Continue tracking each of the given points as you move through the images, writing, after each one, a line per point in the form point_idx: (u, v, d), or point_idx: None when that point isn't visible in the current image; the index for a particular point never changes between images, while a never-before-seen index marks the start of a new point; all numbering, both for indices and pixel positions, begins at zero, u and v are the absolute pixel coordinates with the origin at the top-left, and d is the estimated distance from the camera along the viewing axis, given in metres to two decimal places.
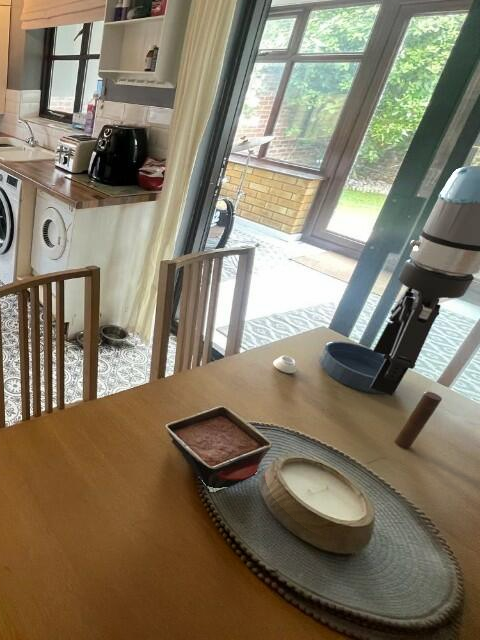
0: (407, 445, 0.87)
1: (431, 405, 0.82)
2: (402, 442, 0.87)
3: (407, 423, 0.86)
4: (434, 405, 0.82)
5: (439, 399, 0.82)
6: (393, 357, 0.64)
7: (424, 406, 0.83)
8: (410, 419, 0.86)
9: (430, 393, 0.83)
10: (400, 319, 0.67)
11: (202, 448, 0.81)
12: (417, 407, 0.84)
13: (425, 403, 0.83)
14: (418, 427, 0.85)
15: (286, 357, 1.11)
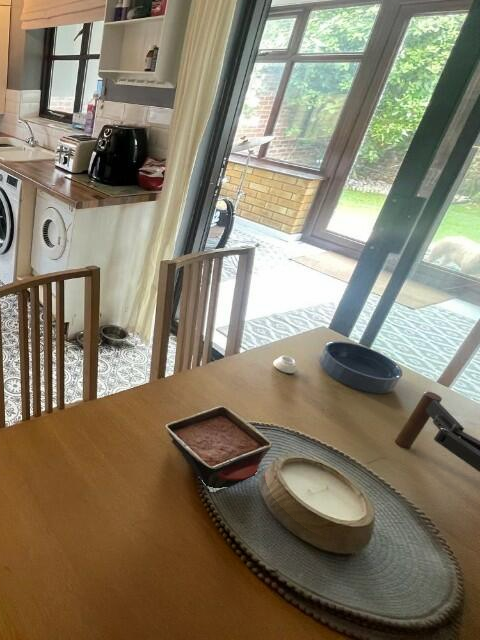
0: (407, 445, 0.87)
1: None
2: (402, 442, 0.87)
3: (407, 423, 0.86)
4: None
5: (439, 399, 0.82)
6: None
7: (424, 406, 0.83)
8: (410, 419, 0.86)
9: (430, 393, 0.83)
10: None
11: (202, 448, 0.81)
12: (417, 407, 0.84)
13: (425, 403, 0.83)
14: (418, 427, 0.85)
15: (286, 357, 1.11)
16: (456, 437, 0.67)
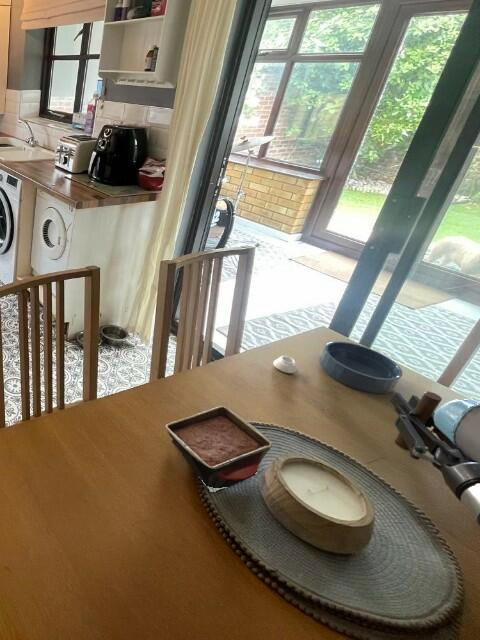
0: (407, 445, 0.87)
1: (431, 405, 0.82)
2: (402, 442, 0.87)
3: None
4: (434, 405, 0.82)
5: (439, 399, 0.82)
6: None
7: (424, 406, 0.83)
8: None
9: (430, 393, 0.83)
10: None
11: (202, 448, 0.81)
12: (417, 407, 0.84)
13: (425, 403, 0.83)
14: None
15: (286, 357, 1.11)
16: (407, 421, 0.83)
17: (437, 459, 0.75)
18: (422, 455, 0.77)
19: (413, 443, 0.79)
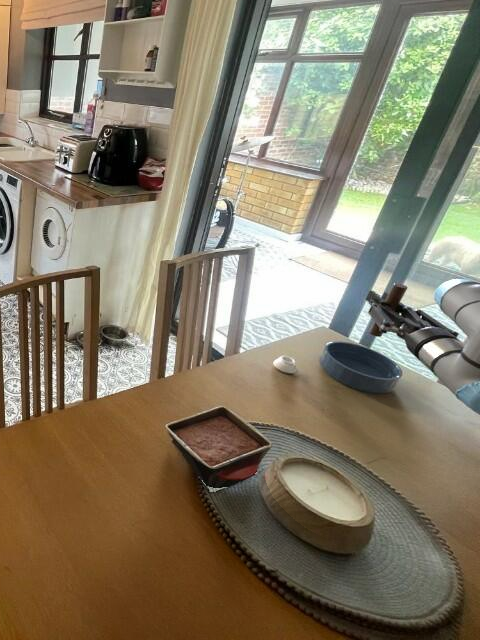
0: (379, 333, 1.02)
1: (398, 293, 0.97)
2: (375, 331, 1.02)
3: None
4: (401, 293, 0.97)
5: (405, 287, 0.96)
6: None
7: (393, 295, 0.98)
8: None
9: (398, 284, 0.98)
10: None
11: (202, 448, 0.81)
12: (387, 297, 0.99)
13: (394, 292, 0.97)
14: None
15: (286, 357, 1.11)
16: (378, 307, 0.97)
17: (401, 330, 0.90)
18: (389, 328, 0.91)
19: (382, 321, 0.93)
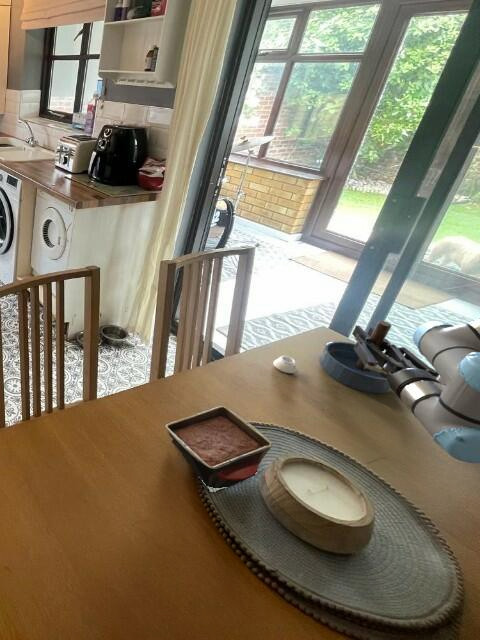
0: None
1: (383, 331, 1.00)
2: (361, 366, 1.05)
3: None
4: (385, 331, 1.00)
5: (389, 325, 0.99)
6: None
7: (378, 332, 1.01)
8: None
9: (382, 322, 1.01)
10: None
11: (202, 448, 0.81)
12: (372, 334, 1.02)
13: (378, 329, 1.00)
14: None
15: (286, 357, 1.11)
16: (363, 345, 1.00)
17: (384, 369, 0.93)
18: (373, 367, 0.94)
19: (366, 359, 0.96)
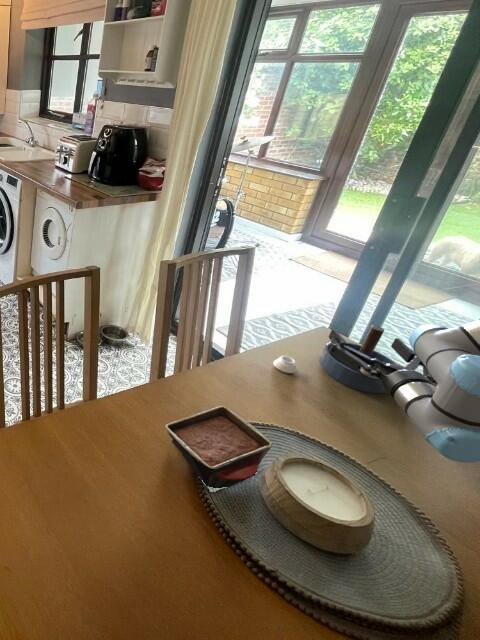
0: None
1: (376, 336, 1.02)
2: None
3: None
4: (378, 335, 1.02)
5: (382, 330, 1.01)
6: None
7: (371, 337, 1.03)
8: (361, 349, 1.05)
9: (375, 326, 1.03)
10: None
11: (202, 448, 0.81)
12: (366, 339, 1.04)
13: (371, 334, 1.03)
14: (367, 355, 1.05)
15: (286, 357, 1.11)
16: (341, 348, 1.01)
17: (381, 372, 0.94)
18: (371, 373, 0.95)
19: (358, 365, 0.97)
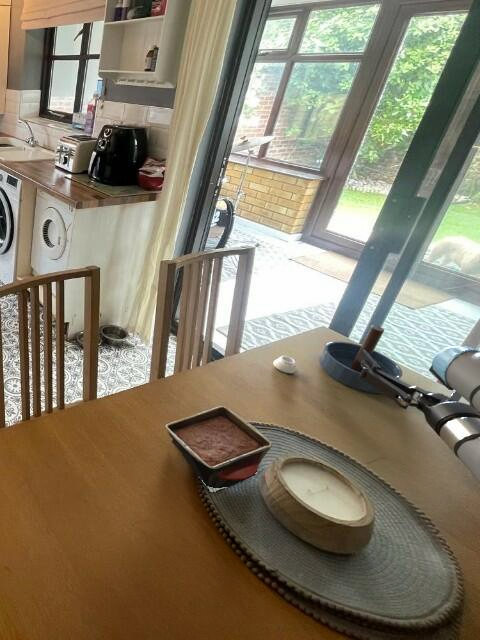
0: (359, 371, 1.07)
1: (376, 336, 1.02)
2: (355, 369, 1.07)
3: (358, 353, 1.06)
4: (378, 335, 1.02)
5: (382, 330, 1.01)
6: None
7: (371, 337, 1.03)
8: (361, 349, 1.05)
9: (375, 326, 1.03)
10: None
11: (202, 448, 0.81)
12: (366, 339, 1.04)
13: (371, 334, 1.03)
14: None
15: (286, 357, 1.11)
16: (373, 373, 0.89)
17: (423, 403, 0.82)
18: (410, 404, 0.83)
19: (396, 394, 0.85)
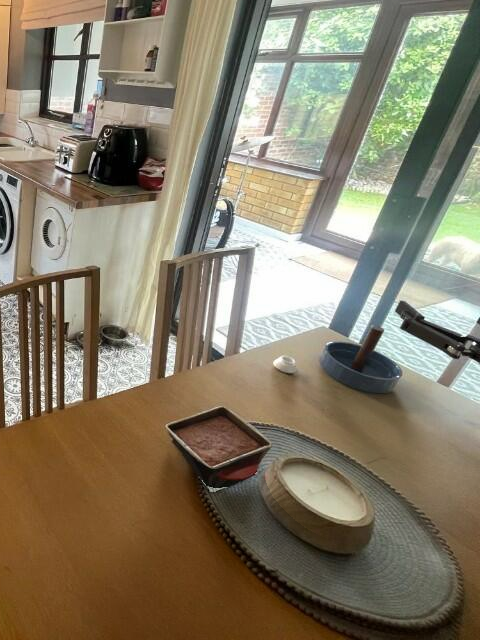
0: (359, 371, 1.07)
1: (376, 336, 1.02)
2: (355, 369, 1.07)
3: (358, 353, 1.06)
4: (378, 335, 1.02)
5: (382, 330, 1.01)
6: None
7: (371, 337, 1.03)
8: (361, 349, 1.05)
9: (375, 326, 1.03)
10: None
11: (202, 448, 0.81)
12: (366, 339, 1.04)
13: (371, 334, 1.03)
14: (367, 355, 1.05)
15: (286, 357, 1.11)
16: (417, 323, 0.79)
17: (478, 352, 0.72)
18: (464, 353, 0.73)
19: (445, 343, 0.75)
